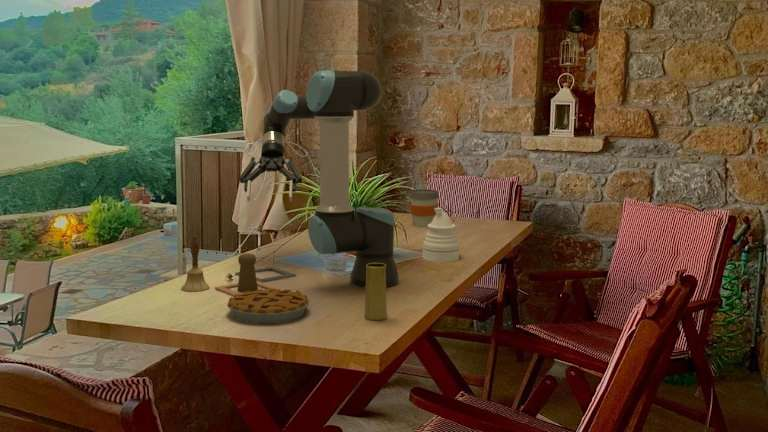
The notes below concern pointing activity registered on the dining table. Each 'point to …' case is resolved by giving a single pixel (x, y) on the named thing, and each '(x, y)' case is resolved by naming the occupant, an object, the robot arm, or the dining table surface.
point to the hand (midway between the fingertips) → (269, 198)
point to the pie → (268, 305)
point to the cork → (247, 273)
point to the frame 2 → (285, 275)
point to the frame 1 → (226, 287)
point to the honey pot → (441, 239)
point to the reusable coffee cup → (423, 206)
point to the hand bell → (195, 271)
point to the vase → (375, 292)
